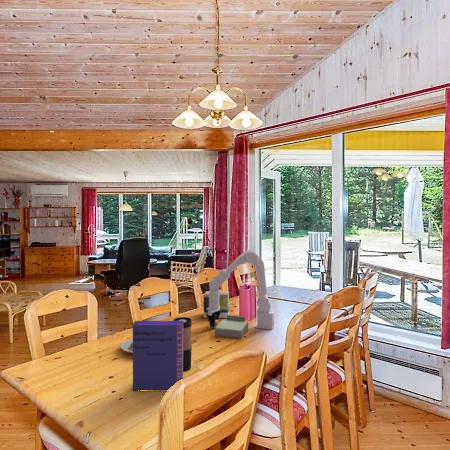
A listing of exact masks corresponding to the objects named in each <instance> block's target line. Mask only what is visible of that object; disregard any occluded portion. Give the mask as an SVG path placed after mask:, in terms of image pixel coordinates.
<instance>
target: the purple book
mask: <svg viewBox="0 0 450 450" xmlns="http://www.w3.org/2000/svg"><path fill="white" fill-rule="evenodd" d="M132 339H133V353H132V392H141V391H140V390H168V389H169V388H170V387H171V386H173V385H174V384H175V383H176V382H177V381H179V380H181V379H183V380H184V372H183V321H173V320H134V322H133V323H132ZM138 390H139V391H138Z"/></svg>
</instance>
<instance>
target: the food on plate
mask: <svg viewBox="0 0 450 450" xmlns="http://www.w3.org/2000/svg"><path fill="white" fill-rule="evenodd" d="M119 347H120V348H121V350H123V351H122V353H123V352H127V353H129V354H133V338H132V339H127V340H126V341H123V342H121V343H120V345H119Z"/></svg>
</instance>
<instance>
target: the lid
mask: <svg viewBox="0 0 450 450" xmlns="http://www.w3.org/2000/svg"><path fill="white" fill-rule="evenodd" d="M247 324H248V325H249V321H247V320H246V315H245V316H243V315H232V314H229V315H227V318H223V320H221V321H220V322H219V324H218V325H217V326H216V327H215V329H219V330H228V331H238V332H241V331H242V330H243V329H244V328H245V326H246V325H247ZM215 329H214V330H215Z"/></svg>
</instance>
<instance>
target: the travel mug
mask: <svg viewBox="0 0 450 450" xmlns="http://www.w3.org/2000/svg"><path fill="white" fill-rule="evenodd" d="M172 321H183V373H184V372H188V371H190V370H191V368H192V353H193V351H192V349H193V346H192V341H193V340H192V339H193V338H192V318H191V317H185V316H179V317H176V318H173V320H172Z"/></svg>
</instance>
